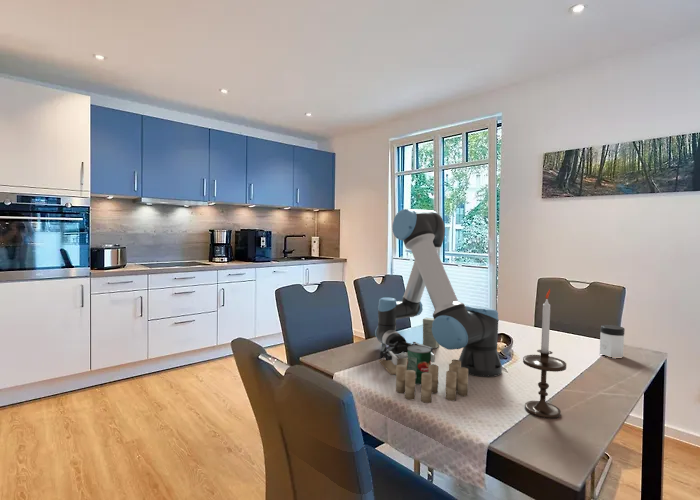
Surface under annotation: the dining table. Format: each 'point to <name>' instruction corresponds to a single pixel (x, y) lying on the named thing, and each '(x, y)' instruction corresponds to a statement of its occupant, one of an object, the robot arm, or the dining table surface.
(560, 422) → the dining table surface
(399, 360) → the cork trivet
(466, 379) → the dowel field
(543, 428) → the dining table surface
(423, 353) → the canned tomato
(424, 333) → the skincare box
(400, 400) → the dining table surface
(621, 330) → the jar
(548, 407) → the candlestick
